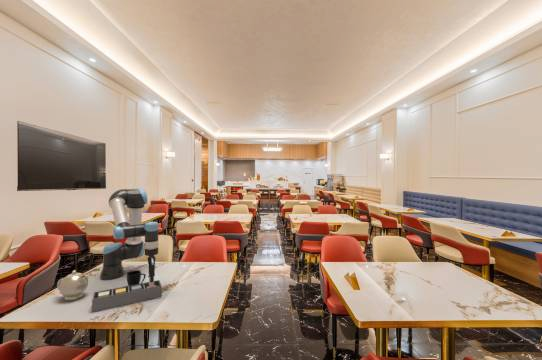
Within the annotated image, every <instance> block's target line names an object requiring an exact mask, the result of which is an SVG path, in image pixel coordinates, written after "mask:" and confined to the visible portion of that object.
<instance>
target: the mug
mask: <svg viewBox="0 0 542 360" xmlns="http://www.w3.org/2000/svg"><path fill="white" fill-rule="evenodd" d="M142 276H143V277H142ZM146 276H147V275H146V273H142V271H141V270H130V271H129V272H127V273H126V282H127V286H130V285H136V284H141V283H144V281H145V280H146ZM141 277H142V281H141Z"/></svg>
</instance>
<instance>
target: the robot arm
mask: <svg viewBox="0 0 542 360" xmlns="http://www.w3.org/2000/svg"><path fill="white" fill-rule="evenodd" d="M145 205H148V194H147V192H146V190H145V189H143V188H131V189H129V188H128V189H127V188H125V189H124V188H123V189H122V188H121V189H119V190H118V189H117V190H116V191H114V192H113V193H112V194H111V195H110V196H109V199H108V206H109V207H110V209H111V211H112V216H113V219H114V224H115V226H114V227H113V229H112V236H113V239H114V240H123V239H124V240H125V239H126V240H125V242H124V244H123V243H122V242H113V243H110V244H107V245H105V246H104V247H103V249H102V256H103V257H102V268H101V271H100V273H99V279H100V280H101V281H102V280H103V281H109V280H110V281H111V280H115V279H116V280H117V279H119V278H122V277H123V276H125V268H124V267H123V264H122V262H123V261H126V260H131V259H138V258H140V257H143V256H147V263H148V275H147V277H148V282H149V288H150V287H154V281H155V275H156V273H155V272H156V271H155V267H156V256H155V255H158V254H159V223H158V221H149V222H148V221H147V222H143V223H142V217H143V216H142V214H143V209H144V208H145ZM125 206H126V207H125ZM126 208H127V209H128V212H127V210H126ZM141 237H144V241H143V239H142V238H141Z"/></svg>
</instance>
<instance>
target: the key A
mask: <svg viewBox="0 0 542 360" xmlns="http://www.w3.org/2000/svg"><path fill="white" fill-rule="evenodd" d="M105 296H109V291H106V292H101V293H99V295H98V298H100V297H105Z"/></svg>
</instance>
